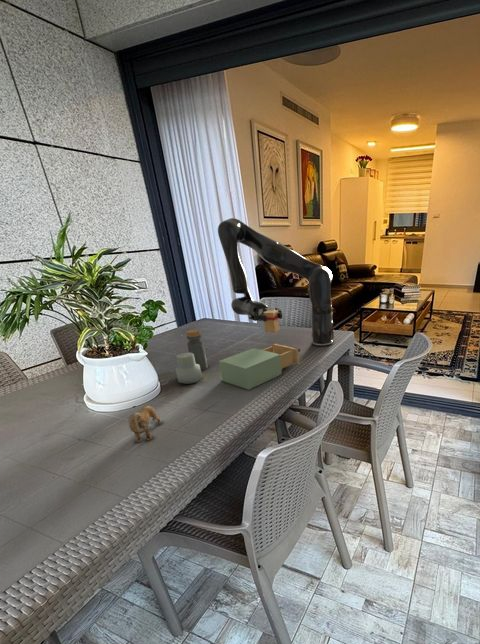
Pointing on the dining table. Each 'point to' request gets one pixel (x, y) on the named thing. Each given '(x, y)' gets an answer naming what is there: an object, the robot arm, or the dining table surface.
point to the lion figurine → (142, 422)
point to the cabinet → (250, 368)
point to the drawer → (285, 354)
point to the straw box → (271, 321)
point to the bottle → (197, 348)
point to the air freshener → (187, 369)
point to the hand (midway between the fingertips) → (273, 317)
